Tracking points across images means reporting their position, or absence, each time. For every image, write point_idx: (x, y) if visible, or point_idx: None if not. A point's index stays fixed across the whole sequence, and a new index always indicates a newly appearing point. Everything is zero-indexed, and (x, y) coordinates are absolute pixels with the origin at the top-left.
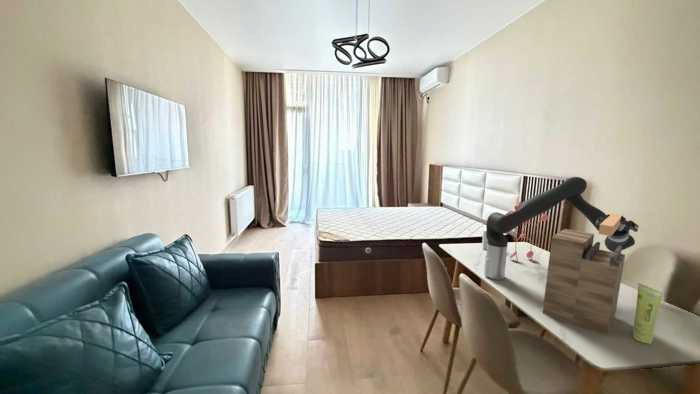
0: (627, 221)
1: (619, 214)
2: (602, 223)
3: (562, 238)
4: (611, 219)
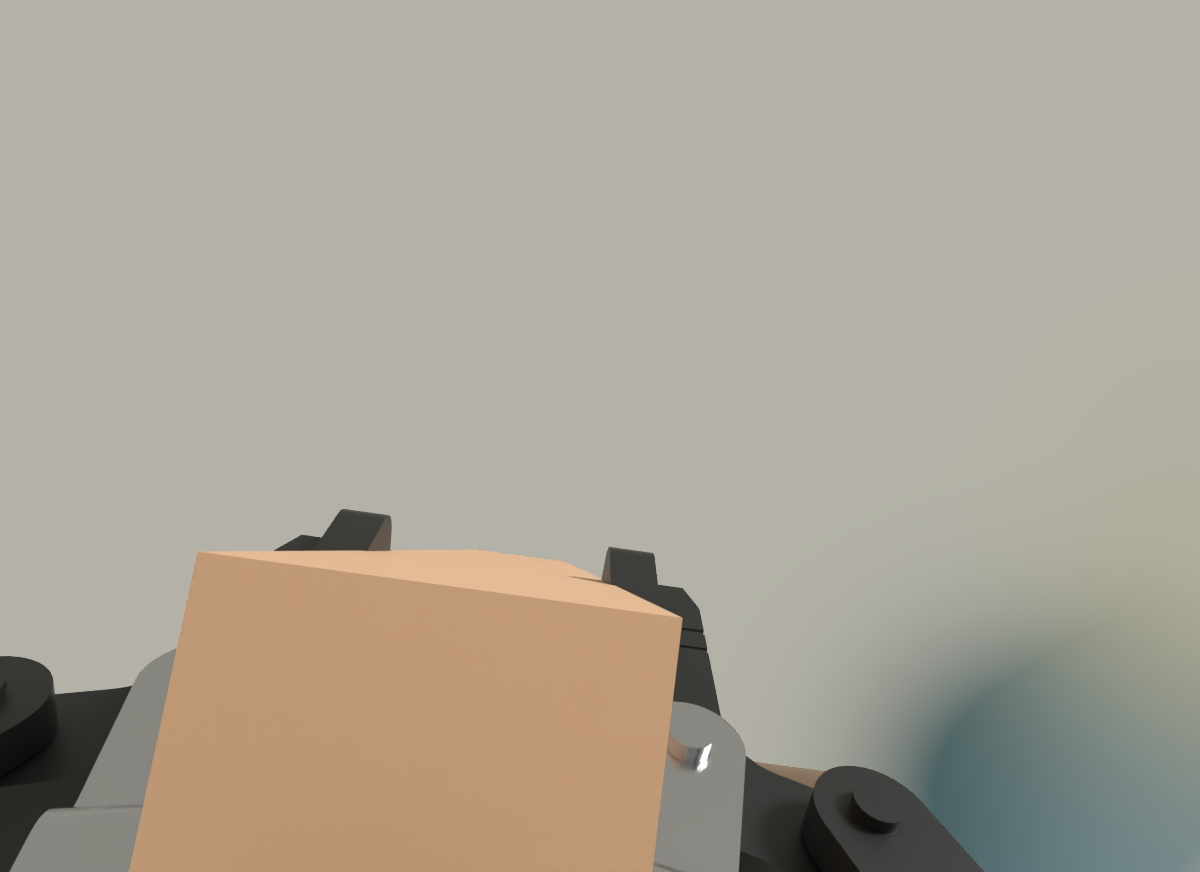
0: (119, 703)
1: (372, 571)
2: (558, 561)
3: (779, 770)
4: (519, 561)
